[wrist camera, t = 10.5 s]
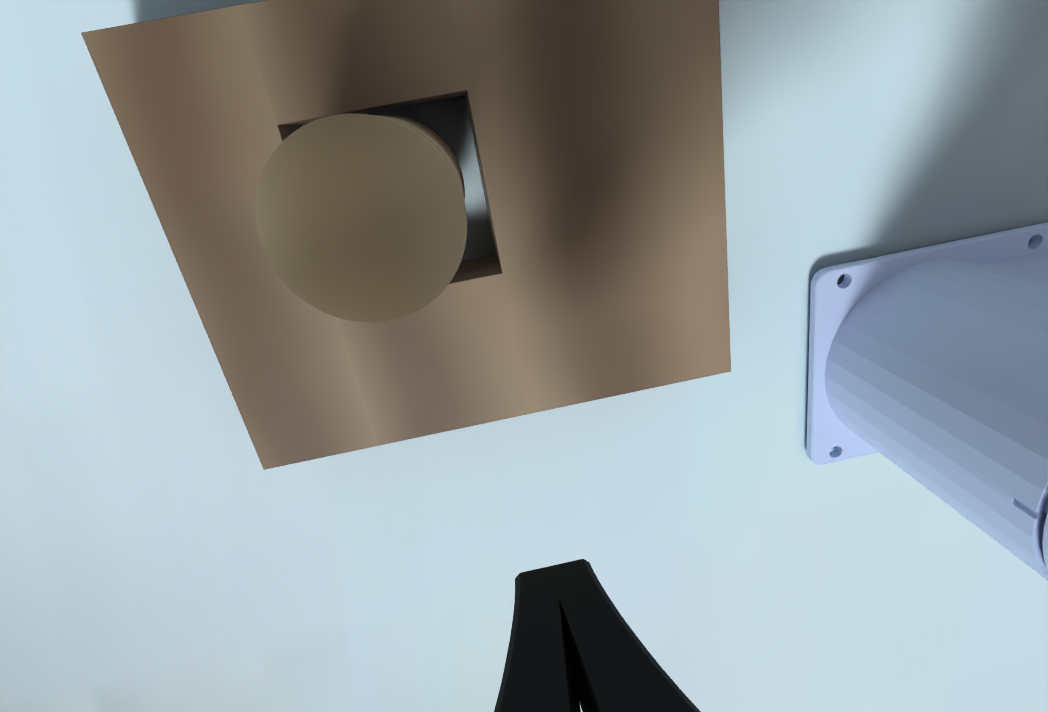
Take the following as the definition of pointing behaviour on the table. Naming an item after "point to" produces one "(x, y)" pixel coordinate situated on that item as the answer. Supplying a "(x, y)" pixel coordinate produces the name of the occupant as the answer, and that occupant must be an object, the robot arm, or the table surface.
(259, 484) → the table surface
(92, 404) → the table surface
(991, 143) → the table surface
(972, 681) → the table surface
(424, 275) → the peg
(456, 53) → the board
